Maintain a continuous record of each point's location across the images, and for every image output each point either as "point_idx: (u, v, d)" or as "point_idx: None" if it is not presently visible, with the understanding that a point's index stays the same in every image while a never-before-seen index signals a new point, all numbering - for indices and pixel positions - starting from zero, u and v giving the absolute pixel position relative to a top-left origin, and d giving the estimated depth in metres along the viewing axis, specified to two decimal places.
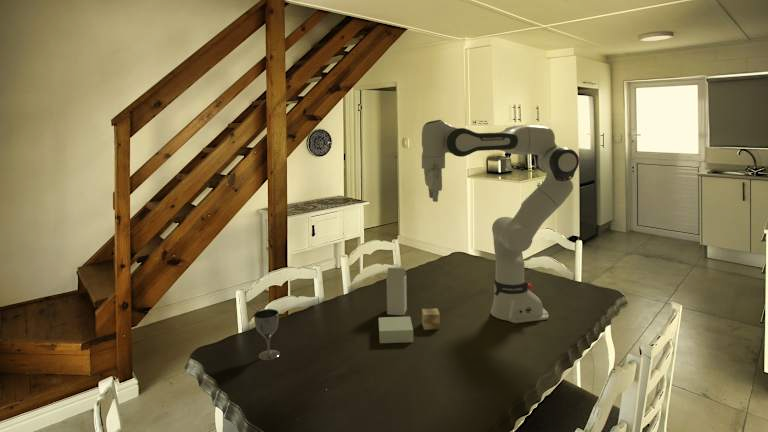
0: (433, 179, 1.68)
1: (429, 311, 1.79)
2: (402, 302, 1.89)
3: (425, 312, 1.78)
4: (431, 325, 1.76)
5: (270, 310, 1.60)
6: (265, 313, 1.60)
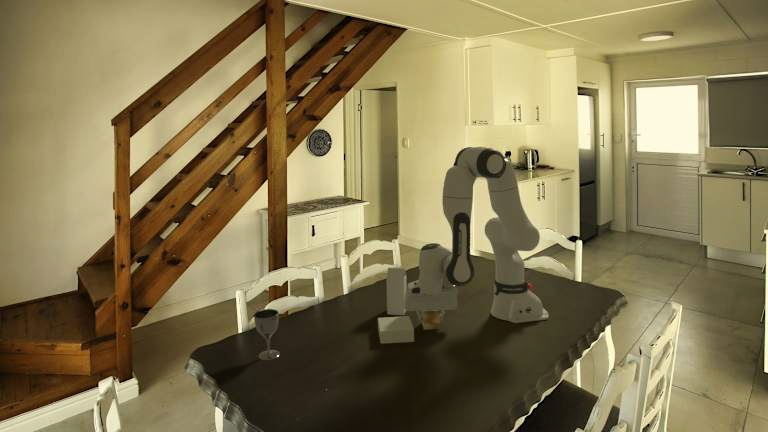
0: (456, 298, 1.76)
1: (429, 310, 1.79)
2: (402, 302, 1.89)
3: (425, 311, 1.78)
4: (431, 324, 1.76)
5: (270, 310, 1.60)
6: (265, 313, 1.60)
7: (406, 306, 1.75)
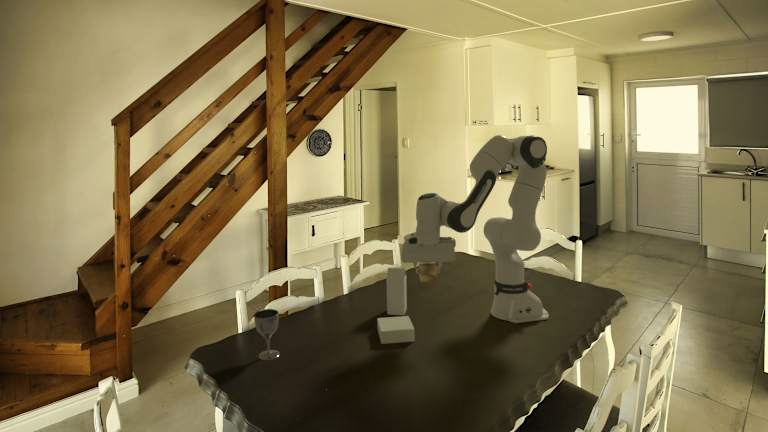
0: None
1: (426, 263, 1.75)
2: (402, 302, 1.89)
3: (422, 264, 1.74)
4: (428, 276, 1.72)
5: (270, 310, 1.60)
6: (265, 313, 1.60)
7: (403, 257, 1.72)
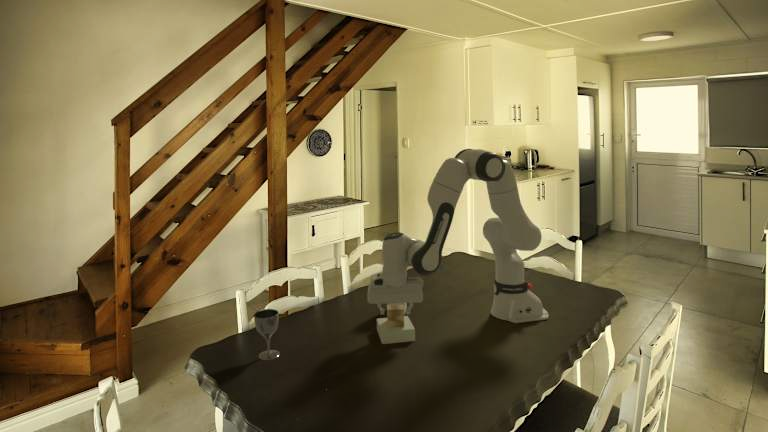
0: (421, 291, 1.68)
1: (393, 307, 1.71)
2: None
3: (389, 308, 1.70)
4: (395, 322, 1.68)
5: (270, 310, 1.60)
6: (265, 313, 1.60)
7: (369, 299, 1.67)
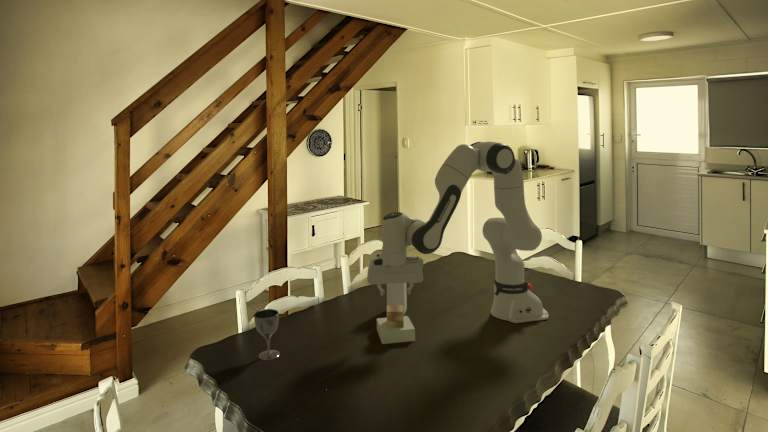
0: None
1: (393, 308, 1.70)
2: (402, 302, 1.89)
3: (389, 308, 1.70)
4: (394, 322, 1.68)
5: (270, 310, 1.60)
6: (265, 313, 1.60)
7: (368, 279, 1.66)
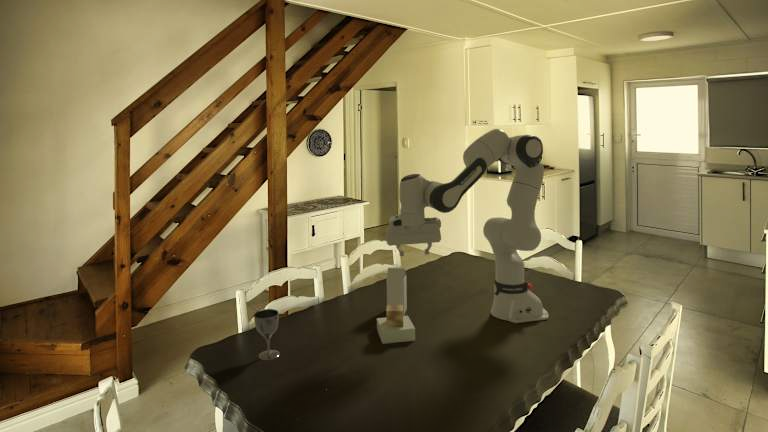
0: (439, 231, 1.71)
1: (393, 307, 1.71)
2: (402, 302, 1.89)
3: (389, 308, 1.70)
4: (394, 322, 1.68)
5: (270, 310, 1.60)
6: (265, 313, 1.60)
7: (388, 240, 1.70)
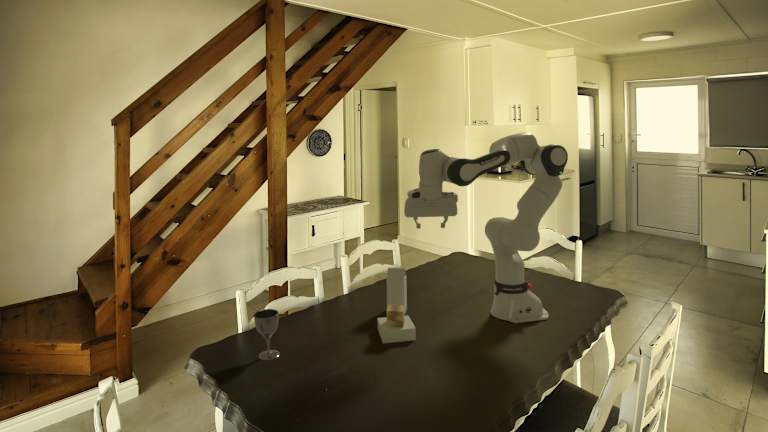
0: (456, 205, 1.77)
1: (394, 307, 1.71)
2: (402, 302, 1.89)
3: (389, 308, 1.70)
4: (394, 322, 1.68)
5: (270, 310, 1.60)
6: (265, 313, 1.60)
7: (406, 212, 1.76)
